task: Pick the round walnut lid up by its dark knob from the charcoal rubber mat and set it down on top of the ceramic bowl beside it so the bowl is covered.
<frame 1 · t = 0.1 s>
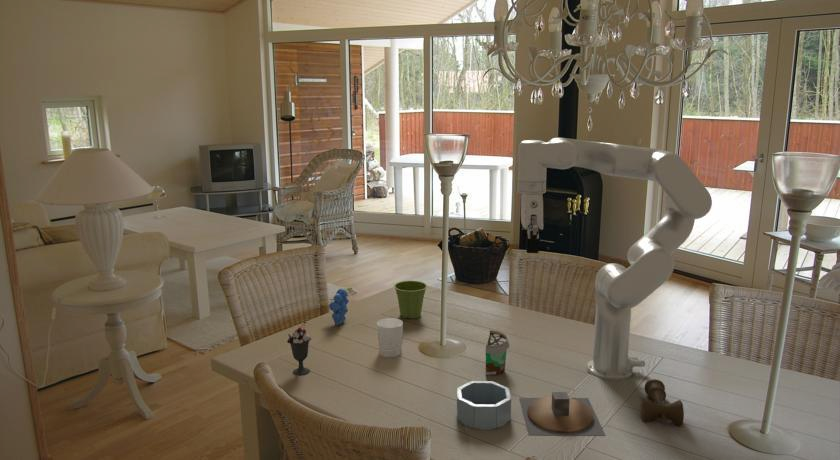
hand: (529, 248, 175), 37 cm above the table, tool pointing down, fingers open, 9 cm apart
food container: (497, 371, 184), on the table
bowl: (483, 417, 159), on the table
plant pot: (411, 316, 228), on the table
sundae: (301, 372, 185), on the table
mat: (559, 417, 159), on the table
grapes: (338, 322, 222), on the table
white cup: (390, 353, 197), on the table
kendama: (658, 415, 160), on the table
lid: (559, 415, 159), resting on mat
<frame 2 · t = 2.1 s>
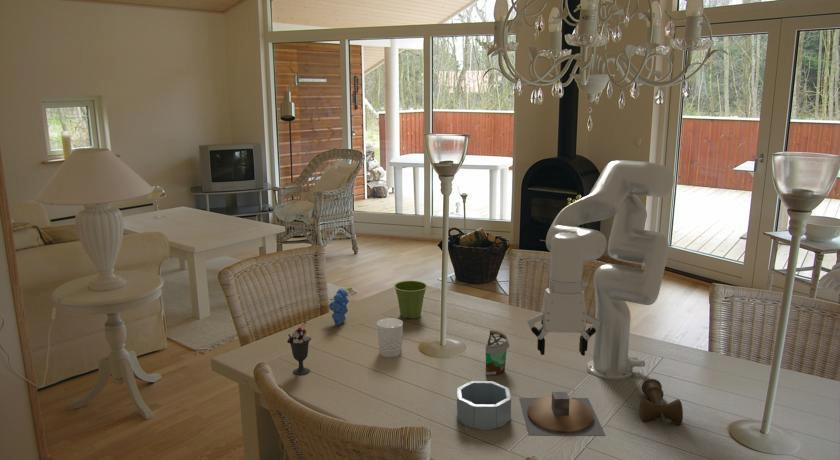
hand: (561, 353, 154), 17 cm above the table, tool pointing down, fingers open, 9 cm apart
nothing on the table moved.
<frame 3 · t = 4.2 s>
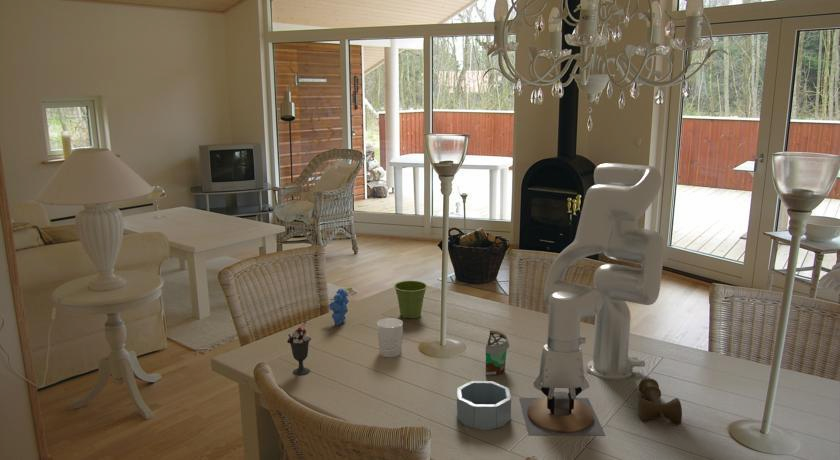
hand: (560, 410, 158), 2 cm above the table, tool pointing down, fingers closed on lid, 3 cm apart
lid: (559, 415, 159), point 1 cm above the table, touching gripper, mat
everything else where it was.
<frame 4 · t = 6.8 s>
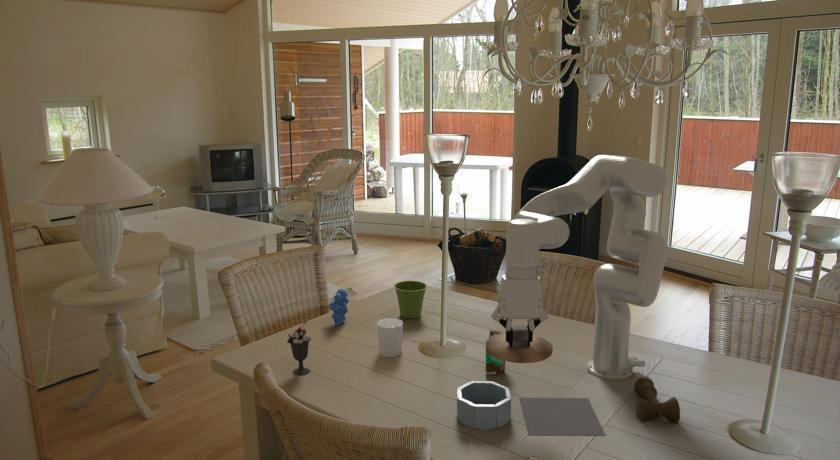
hand: (518, 343, 154), 20 cm above the table, tool pointing down, fingers closed on lid, 3 cm apart
lid: (518, 349, 154), point 18 cm above the table, touching gripper
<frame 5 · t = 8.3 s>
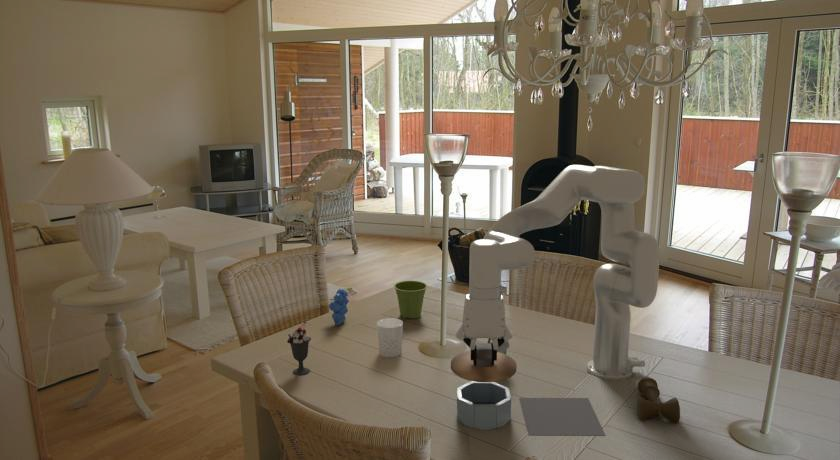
hand: (483, 362, 156), 15 cm above the table, tool pointing down, fingers closed on lid, 3 cm apart
lid: (483, 367, 156), point 14 cm above the table, touching gripper
when the fingers open (9 cm above the table, at t = 9.5 s): lid drops 1 cm, resting on bowl.
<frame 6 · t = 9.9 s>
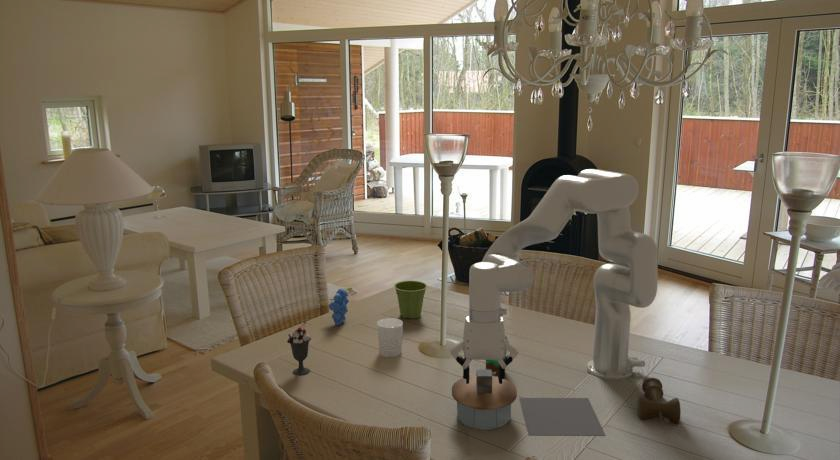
hand: (483, 380, 157), 10 cm above the table, tool pointing down, fingers open, 7 cm apart
lid: (484, 393, 158), point 6 cm above the table, touching bowl
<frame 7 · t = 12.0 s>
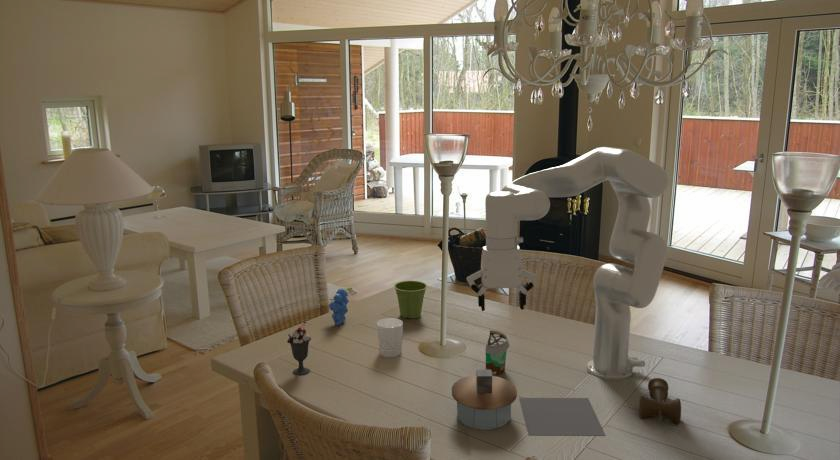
hand: (502, 308, 159), 26 cm above the table, tool pointing down, fingers open, 9 cm apart
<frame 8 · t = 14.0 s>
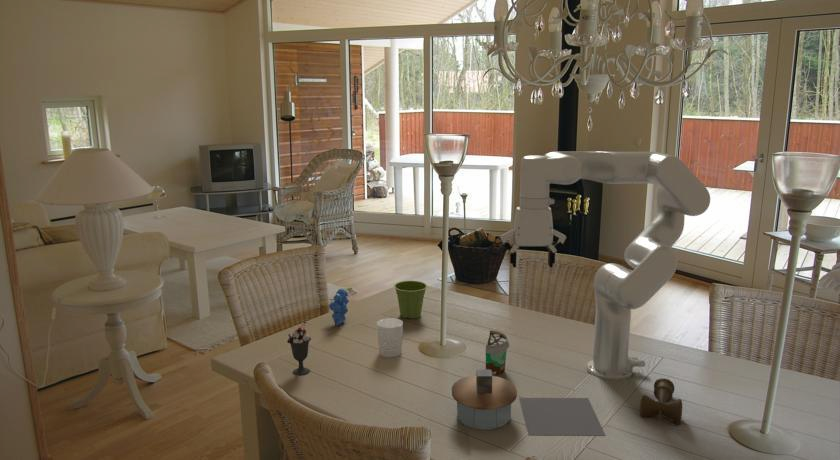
hand: (532, 266, 170), 33 cm above the table, tool pointing down, fingers open, 9 cm apart
at the end: lid 0.1 cm off-centre on the bowl, point 6.5 cm above the bowl's base; lid tilted 0°; the gripper is holding nothing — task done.
